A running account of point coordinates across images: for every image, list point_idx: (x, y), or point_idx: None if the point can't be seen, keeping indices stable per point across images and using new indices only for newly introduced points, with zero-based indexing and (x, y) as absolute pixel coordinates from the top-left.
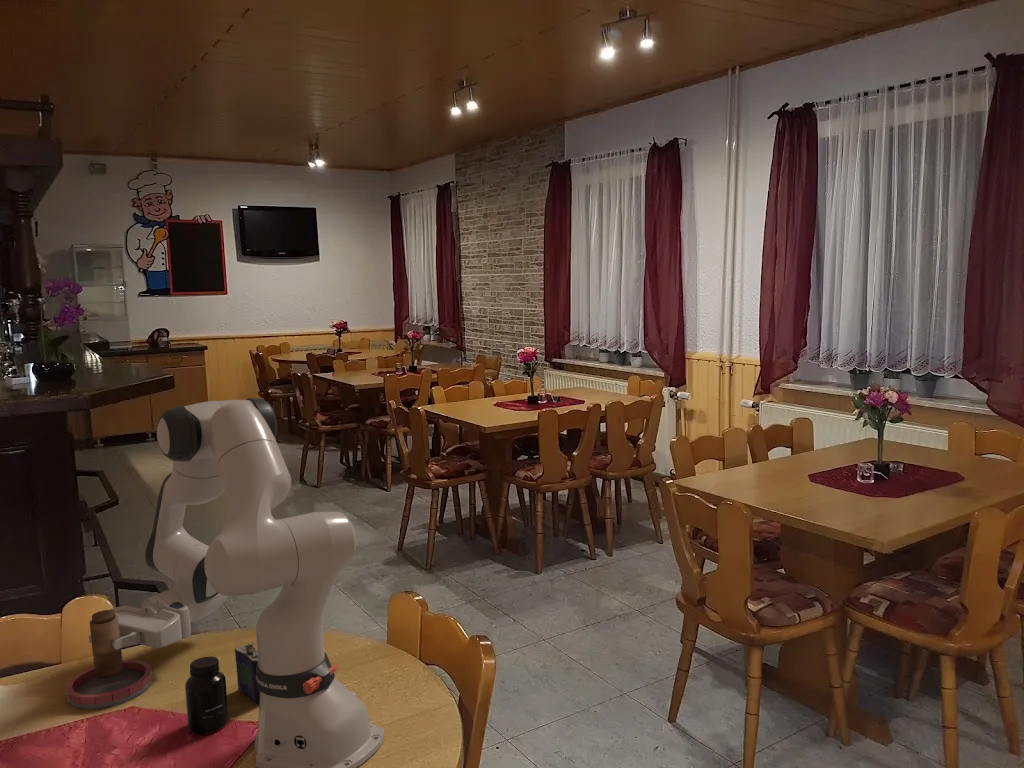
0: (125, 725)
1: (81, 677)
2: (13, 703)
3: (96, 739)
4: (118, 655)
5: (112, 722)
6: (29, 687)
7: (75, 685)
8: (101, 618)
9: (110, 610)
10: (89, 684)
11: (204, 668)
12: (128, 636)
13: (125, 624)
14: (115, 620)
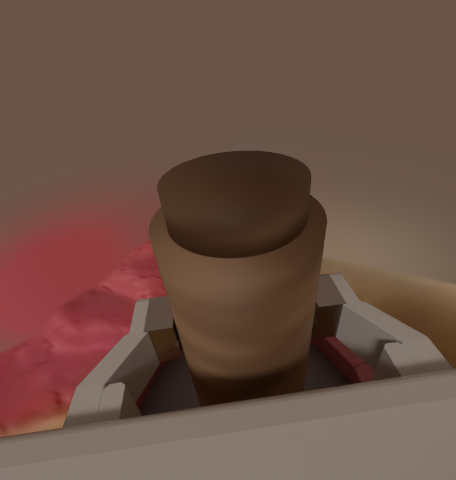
0: (53, 344)
1: (348, 366)
2: (371, 272)
3: (83, 295)
4: (192, 380)
5: (94, 336)
6: (449, 312)
7: (322, 346)
8: (182, 166)
9: (251, 204)
10: (311, 381)
11: None
12: (105, 358)
13: (243, 412)
14: (152, 242)
